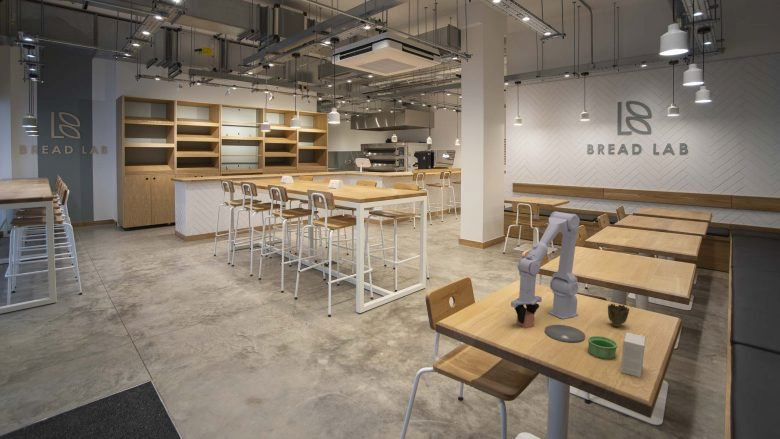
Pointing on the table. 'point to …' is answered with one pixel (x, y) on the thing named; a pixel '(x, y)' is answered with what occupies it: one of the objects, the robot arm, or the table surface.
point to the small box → (633, 354)
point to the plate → (565, 333)
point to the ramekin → (602, 347)
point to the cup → (617, 314)
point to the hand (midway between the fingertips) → (525, 321)
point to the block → (527, 320)
